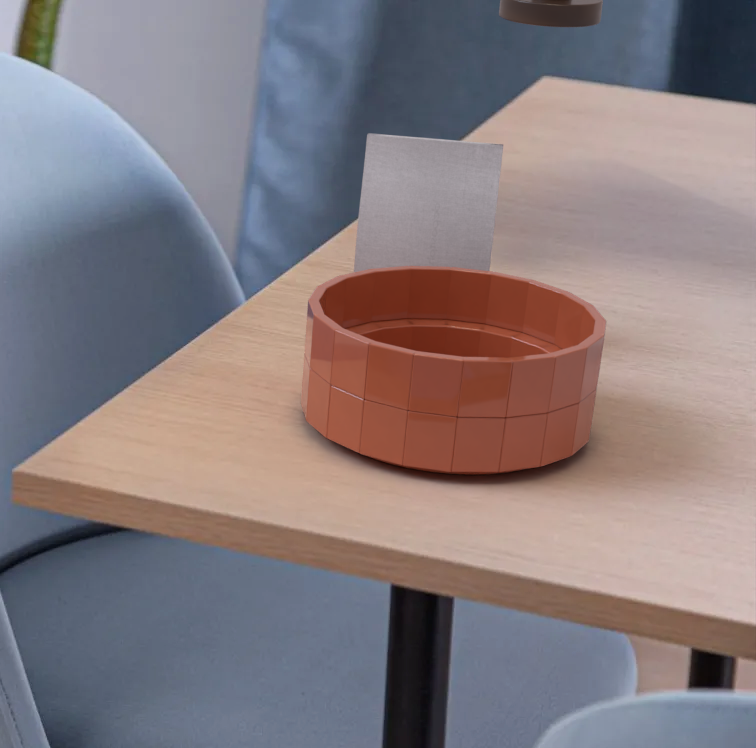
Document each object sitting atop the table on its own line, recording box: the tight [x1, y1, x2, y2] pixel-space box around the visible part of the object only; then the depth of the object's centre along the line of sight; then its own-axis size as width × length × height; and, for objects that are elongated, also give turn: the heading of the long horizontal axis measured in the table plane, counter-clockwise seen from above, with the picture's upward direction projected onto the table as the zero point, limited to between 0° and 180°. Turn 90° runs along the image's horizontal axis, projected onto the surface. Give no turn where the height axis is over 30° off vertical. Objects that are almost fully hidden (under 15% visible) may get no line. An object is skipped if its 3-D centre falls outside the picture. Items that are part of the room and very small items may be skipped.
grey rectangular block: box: [353, 132, 504, 272], centre depth 90 cm, size 4×7×10 cm, turn 81°
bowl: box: [300, 266, 607, 476], centre depth 79 cm, size 13×13×6 cm
